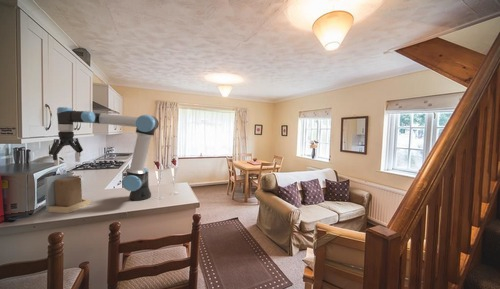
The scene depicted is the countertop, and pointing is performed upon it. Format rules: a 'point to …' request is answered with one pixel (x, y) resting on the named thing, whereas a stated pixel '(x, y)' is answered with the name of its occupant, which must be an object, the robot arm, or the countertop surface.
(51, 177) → the board
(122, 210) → the countertop surface
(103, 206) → the countertop surface
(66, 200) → the wooden block
